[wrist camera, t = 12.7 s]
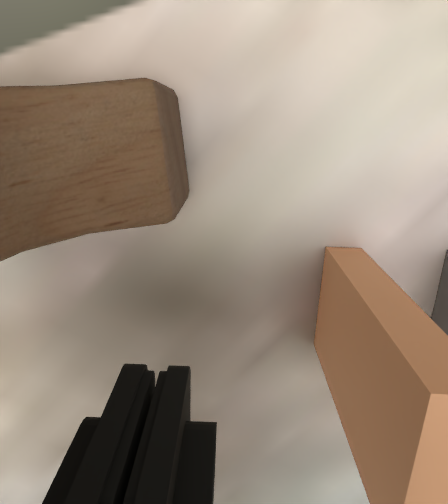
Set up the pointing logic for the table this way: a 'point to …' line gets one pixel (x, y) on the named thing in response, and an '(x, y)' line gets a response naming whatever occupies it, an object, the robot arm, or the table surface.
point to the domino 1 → (385, 379)
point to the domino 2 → (442, 300)
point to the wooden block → (87, 160)
